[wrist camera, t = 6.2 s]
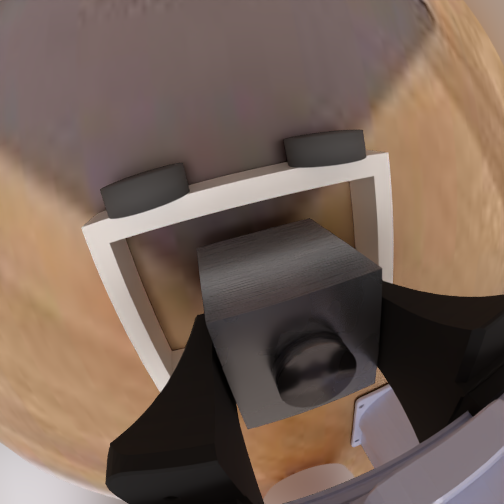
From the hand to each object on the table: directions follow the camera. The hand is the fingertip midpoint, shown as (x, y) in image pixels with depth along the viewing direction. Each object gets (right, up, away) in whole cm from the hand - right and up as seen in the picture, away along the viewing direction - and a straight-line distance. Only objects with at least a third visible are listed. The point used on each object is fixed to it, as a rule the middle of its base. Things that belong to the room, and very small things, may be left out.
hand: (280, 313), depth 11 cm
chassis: (-1, +2, +4) cm, 5 cm away
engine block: (-1, +1, +2) cm, 2 cm away
